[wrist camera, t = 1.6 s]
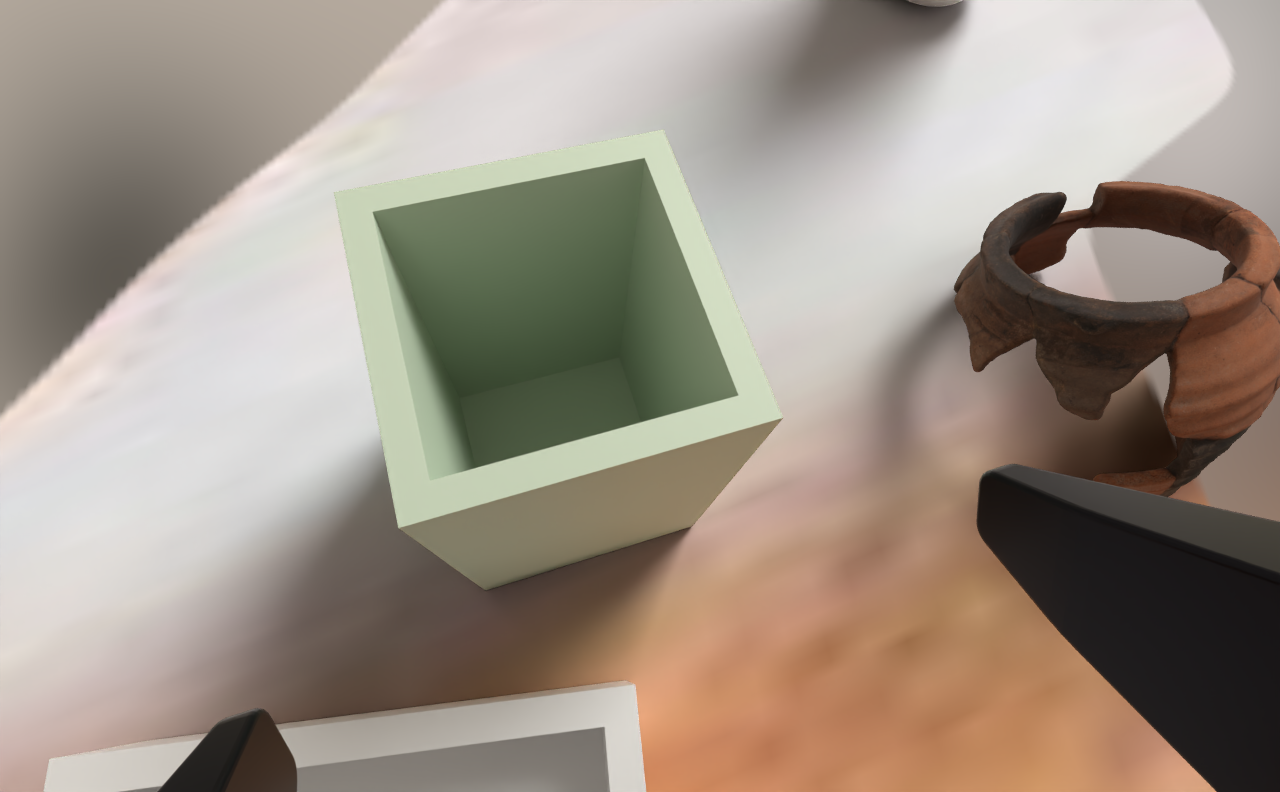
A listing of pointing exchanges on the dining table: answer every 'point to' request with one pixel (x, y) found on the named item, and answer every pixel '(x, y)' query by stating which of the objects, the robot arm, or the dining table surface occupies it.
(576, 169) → the green crate
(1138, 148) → the dining table surface
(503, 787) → the grey crate
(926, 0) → the plastic bottle
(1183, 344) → the pottery mug
